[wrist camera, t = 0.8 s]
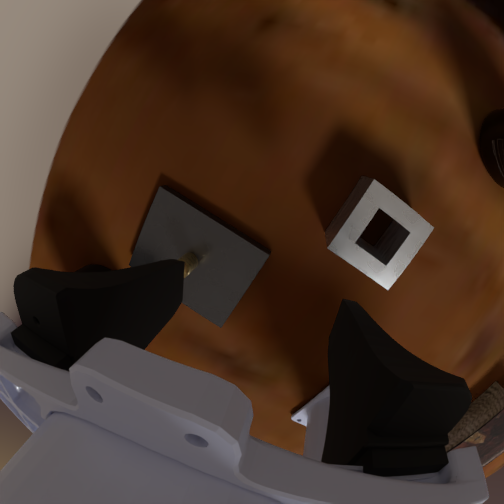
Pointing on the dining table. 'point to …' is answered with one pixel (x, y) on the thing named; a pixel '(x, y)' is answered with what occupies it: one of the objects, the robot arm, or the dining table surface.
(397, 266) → the gray square hollow block
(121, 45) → the dining table surface
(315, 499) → the robot arm
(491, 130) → the supplement bottle
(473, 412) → the hardback book
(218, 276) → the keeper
